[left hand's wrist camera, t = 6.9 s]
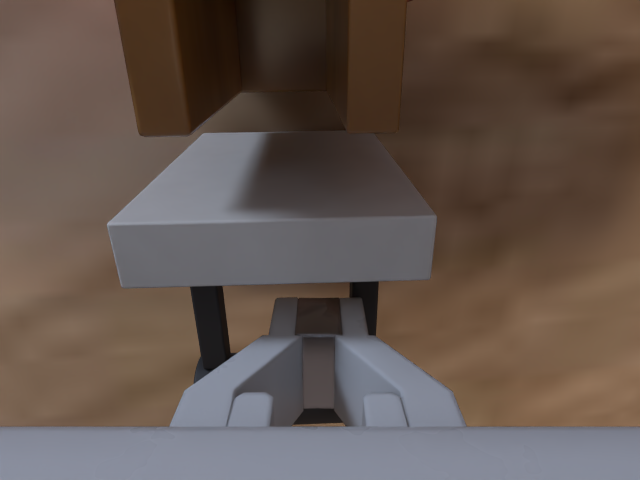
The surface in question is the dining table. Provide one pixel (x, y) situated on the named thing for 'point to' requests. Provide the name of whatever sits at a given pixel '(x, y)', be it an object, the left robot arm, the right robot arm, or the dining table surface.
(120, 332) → the dining table surface
